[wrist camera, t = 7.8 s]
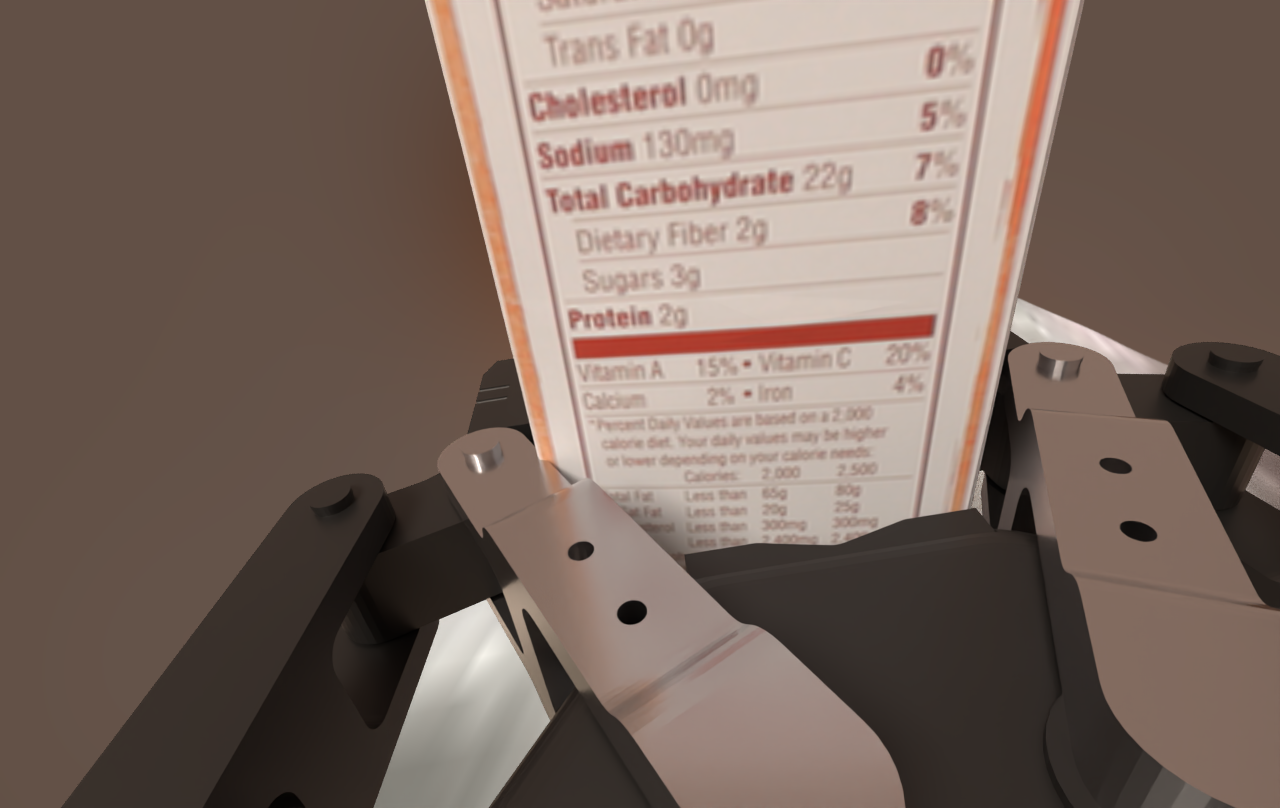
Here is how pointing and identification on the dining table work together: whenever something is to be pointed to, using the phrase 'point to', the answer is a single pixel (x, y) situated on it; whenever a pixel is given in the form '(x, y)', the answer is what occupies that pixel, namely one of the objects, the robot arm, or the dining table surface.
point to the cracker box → (759, 243)
